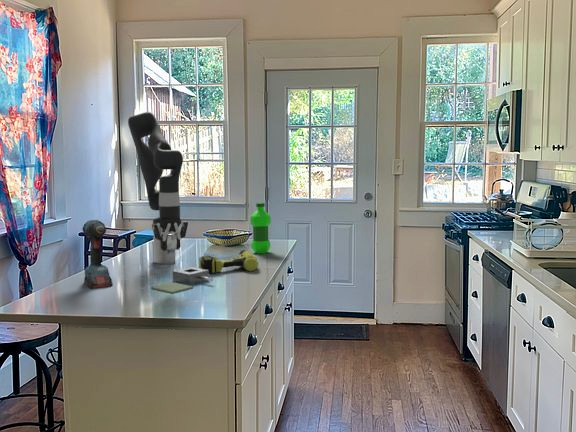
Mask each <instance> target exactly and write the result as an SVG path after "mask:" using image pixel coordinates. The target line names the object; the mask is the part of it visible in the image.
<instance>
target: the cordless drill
mask: <svg viewBox="0 0 576 432" xmlns="http://www.w3.org/2000/svg"><path fill="white" fill-rule="evenodd" d="M198 259H199V260H198V261H199V267H198V268H200V269H205V270H209V275H212V274H214V273H217V274H218V273H220V272H221V271H222V270H223V268H232V267H243V268H244V269H245V270H246V271H248V272H253V271H256V270H257V268H258V267H259V262H258V259H257V257H256V255H253V254H252V252H250V251H248V250H245V249H243V250H241V251H239V254H238V256H237V257H235V258H232V259H228V260H220V259H219V258H218V257H217V256H212V255H203V256H200V257H198Z"/></svg>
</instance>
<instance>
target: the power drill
mask: <svg viewBox="0 0 576 432" xmlns="http://www.w3.org/2000/svg"><path fill="white" fill-rule="evenodd" d="M82 232H83V233H84V234H85V236H86V238H87V239H88V240H89V244H90V248H89V253H90V254H89V255H90V257H89V258H90V264H89V265H88V266H86V267H85V270H84V281H83V282H84V283H85V285H86V287H88V289H95V288H96V289H97V288H102V287H103V288H104V287H112V286H113V284H114V283H113V280H112V278H111V275H110V272H109V268H108V267H107V266H106V265H103V264H102V252H101V249H102V248H101V239H102V238H103V236H104V234H106V232H107V227H106V225H105V223H103V222H102V221H100V220H98V219H90V220H87V221H86V222H85V223H84V224H83V226H82Z"/></svg>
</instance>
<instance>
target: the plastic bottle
mask: <svg viewBox="0 0 576 432" xmlns="http://www.w3.org/2000/svg"><path fill="white" fill-rule="evenodd" d="M255 203H256V204H255V206H256V208H257V209H256V210H255V211H254V212H253V213H252V214H251V215H250V224H251V226H252V231H253V232H252V234H253V235H252V237H253V239H252V241H251V249H252V250H253V252H255V254H258V253H263V254H266V253H267V252H269V251H270V249H271V242H270V240H269V226H270V225H271V222H272V218H271V215H270V214H269V212H267V211H265V210H264V207H265V206H266V204H265V202H255Z"/></svg>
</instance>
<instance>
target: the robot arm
mask: <svg viewBox="0 0 576 432" xmlns="http://www.w3.org/2000/svg"><path fill="white" fill-rule="evenodd" d="M127 123H128V128H129V131H130V134H131V137H132V140H133V143H134V146H135V149H136V150H135V151H136V153H137V157H138V163H139V166H140V171H141V174H142V177H143V180H144V185H145V189H146V193H147V202H148V205H149V208H150V209H151V210H152V211H159V213H158V215H159V216H158V217H156V218H153V220H152V224H151V228H152V231H153V233H152V234H153V235H152V236H153V237H152V238H153V241H152V243H151V244H152V262H154V264H159V265H161V264H163V265H164V264H166V265H167V250H166V241H165V240H166V237H167V235H168V234H176V235H177V250H180V248H181V246H182V245H181V239H183V238H185V237H186V234H187V231H188V230H187V229H188V225H189V223H188V221H186V220H185V221H184V220H183V221H182V219H181V200H180V199H181V197H180V192H179V191H180V190H179V189H180V188H179V187H180V185H179V181H180V175H181V170H182V167H183V162H184V156H183V154H182V152H181V151H180V150H178V149H177V150H176V149H172V146H171V145H170V143H169V142H168V141H167V139H166V138H165V136H164V134H163V132H162V129H161V127H160V124H159V121H158V120H157V117H156V116H155V114H154V113H153V112H152V111H151V112H150V111H145V112H141V113H138V114H134V115H132V116H129V117H128V119H127ZM148 136H149V137H148ZM146 137H148V140H147V144H146V143H145V142H144V140H143V139H142V138H146ZM164 170H171V171H170V173H169V174H166V175H163V172H164ZM162 175H163V176H162ZM158 182H159V183H158ZM157 184H158V187H159V188H158V190H157V189H156V185H157ZM179 227H180V229H179Z"/></svg>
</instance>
